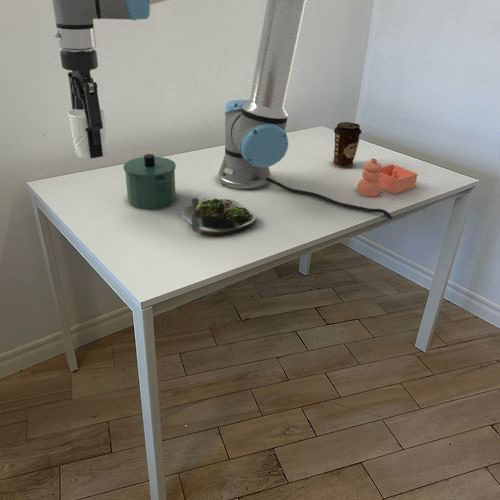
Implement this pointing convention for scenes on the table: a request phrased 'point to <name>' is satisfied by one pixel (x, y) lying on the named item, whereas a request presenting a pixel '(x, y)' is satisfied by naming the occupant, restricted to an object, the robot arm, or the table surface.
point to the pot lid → (149, 166)
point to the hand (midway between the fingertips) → (91, 151)
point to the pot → (151, 191)
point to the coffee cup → (346, 143)
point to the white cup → (83, 133)
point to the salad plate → (218, 217)
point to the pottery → (385, 179)
